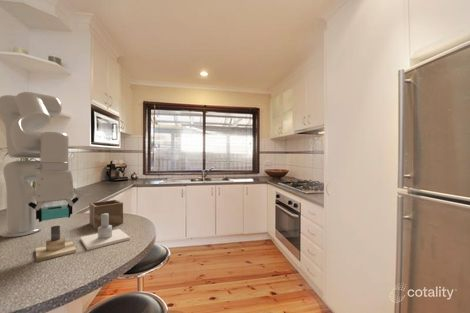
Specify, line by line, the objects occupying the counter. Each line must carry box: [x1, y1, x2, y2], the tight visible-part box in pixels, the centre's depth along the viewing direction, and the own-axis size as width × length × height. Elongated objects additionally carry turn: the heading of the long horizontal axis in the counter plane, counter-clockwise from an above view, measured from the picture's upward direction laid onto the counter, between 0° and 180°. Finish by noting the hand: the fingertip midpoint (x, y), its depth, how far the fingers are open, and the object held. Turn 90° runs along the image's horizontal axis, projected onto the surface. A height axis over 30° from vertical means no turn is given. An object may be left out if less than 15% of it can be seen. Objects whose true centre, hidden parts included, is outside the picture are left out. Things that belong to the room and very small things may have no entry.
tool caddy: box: [89, 199, 124, 229], centre depth 108 cm, size 12×12×10 cm
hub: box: [80, 213, 131, 251], centre depth 85 cm, size 14×14×10 cm
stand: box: [35, 225, 77, 263], centre depth 75 cm, size 12×10×8 cm
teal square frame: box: [41, 204, 70, 222], centre depth 75 cm, size 7×7×3 cm
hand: (54, 218), depth 75 cm, fingers closed on teal square frame, 7 cm apart
